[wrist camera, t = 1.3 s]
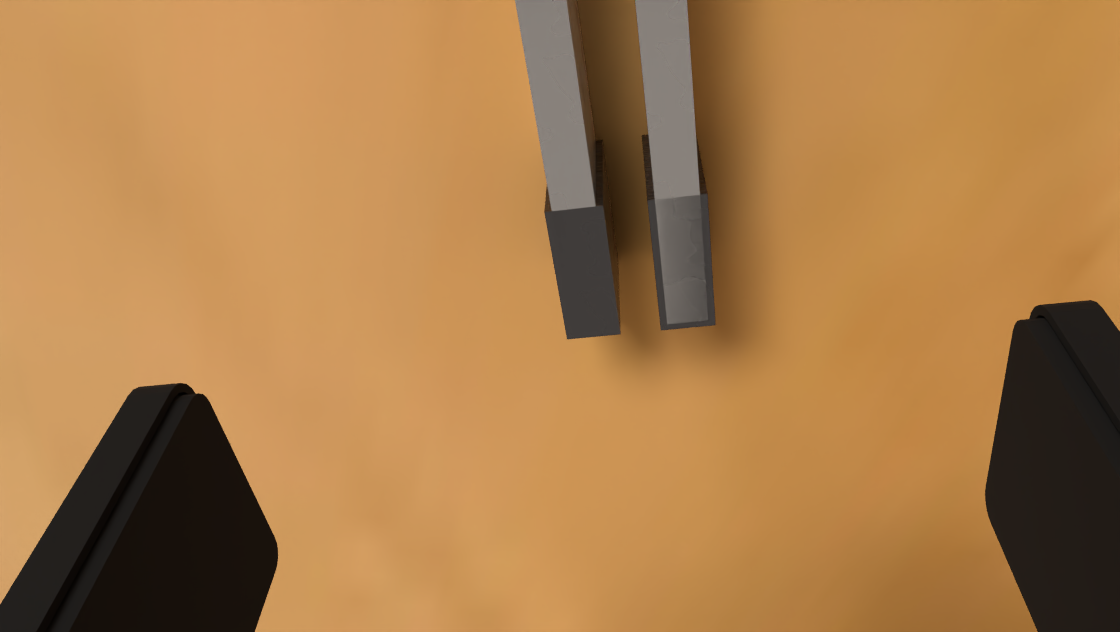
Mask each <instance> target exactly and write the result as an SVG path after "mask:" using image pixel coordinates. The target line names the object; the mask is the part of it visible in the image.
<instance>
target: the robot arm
mask: <svg viewBox="0 0 1120 632" xmlns="http://www.w3.org/2000/svg"><path fill="white" fill-rule="evenodd" d="M985 500H986V507H987V512H988V516H989V519H990V522H991V524H992V527H993V529H994V531H995V534H996V536H997V538H998V541H999V543H1000V545H1001V547H1002V550H1003V552H1004V554H1005V557H1006V559H1007V561H1008V564H1009V566H1010V568H1011V571H1012V573H1013V575H1014V578H1015V580H1016V582H1017V584H1018V587H1019V589H1020V591H1021V594H1022V596H1023V598H1024V601H1025V603H1026V605H1027V608H1028V610H1029V612H1030V615H1031V617H1032V619H1033V622H1034V624H1035V626H1036V628H1037V631H1038V632H1120V331H1119V330H1118V329H1117V327H1116V326H1115V325H1114V323H1113V322H1112V320H1111V319H1110V318H1109V316H1108V315H1107V314H1106V312H1105V311H1104V309H1103V308H1102V307H1101V306H1100V305H1099V304H1098V303H1097V302H1095V301H1092V300H1089V301H1078V302H1067V303H1056V304H1045V305H1038V306H1036V307H1034V309H1033V310H1032V312H1031V315H1030V318H1029V319H1026V320H1019V321H1017V322H1016V324H1015V326H1014V329H1013V333H1012V339H1011V345H1010V351H1009V356H1008V362H1007V368H1006V374H1005V379H1004V385H1003V391H1002V397H1001V402H1000V408H999V414H998V420H997V425H996V431H995V437H994V442H993V448H992V454H991V460H990V465H989V471H988V477H987V483H986V490H985ZM277 561H278V548H277V542H276V540H275V537H274V535H273V533H272V531H271V529H270V526H269V524H268V522H267V520H266V518H265V516H264V514H263V512H262V510H261V508H260V506H259V504H258V502H257V499H256V497H255V495H254V493H253V491H252V489H251V487H250V485H249V483H248V481H247V479H246V477H245V475H244V472H243V470H242V468H241V466H240V464H239V462H238V460H237V458H236V456H235V454H234V452H233V450H232V448H231V445H230V443H229V441H228V439H227V437H226V435H225V433H224V431H223V429H222V427H221V425H220V423H219V421H218V418H217V416H216V414H215V412H214V410H213V408H212V406H211V404H210V402H209V400H208V399H207V397H206V396H204V395H203V394H195V392H194V391H193V389H192V388H191V387H190V386H188V385H187V384H183V383H177V384H166V385H155V386H144V387H138V388H136V389H134V390H133V391H132V392H131V393H130V394H129V395H128V397H127V398H126V400H125V402H124V403H123V405H122V407H121V408H120V410H119V411H118V413H117V415H116V416H115V418H114V420H113V421H112V423H111V425H110V426H109V428H108V429H107V431H106V433H105V434H104V436H103V438H102V439H101V441H100V443H99V444H98V446H97V447H96V449H95V451H94V452H93V454H92V456H91V457H90V459H89V460H88V462H87V464H86V465H85V467H84V469H83V470H82V472H81V474H80V475H79V477H78V478H77V480H76V482H75V483H74V485H73V487H72V488H71V490H70V492H69V493H68V495H67V496H66V498H65V500H64V501H63V503H62V505H61V506H60V508H59V510H58V511H57V513H56V514H55V516H54V518H53V519H52V521H51V523H50V524H49V526H48V527H47V529H46V531H45V532H44V534H43V536H42V537H41V539H40V541H39V542H38V544H37V545H36V547H35V549H34V550H33V552H32V554H31V555H30V557H29V559H28V560H27V562H26V563H25V565H24V567H23V568H22V570H21V572H20V573H19V575H18V576H17V578H16V580H15V581H14V583H13V585H12V586H11V588H10V590H9V591H8V593H7V594H6V596H5V598H4V599H3V601H2V603H1V604H0V632H255V629H256V626H257V623H258V620H259V617H260V615H261V612H262V609H263V606H264V603H265V600H266V597H267V594H268V591H269V588H270V585H271V583H272V580H273V577H274V574H275V571H276V567H277Z"/></svg>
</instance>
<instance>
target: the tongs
mask: <svg viewBox="0 0 1120 632" xmlns="http://www.w3.org/2000/svg"><path fill="white" fill-rule="evenodd" d="M515 2H516V8H517V14H518V20H519V25H520V31H521V37H522V43H523V48H524V54H525V60H526V66H527V71H528V77H529V83H530V89H531V94H532V100H533V106H534V112H535V118H536V123H537V129H538V135H539V141H540V146H541V152H542V158H543V164H544V169H545V175H546V181H547V190H546V201H545V218H546V223H547V229H548V235H549V240H550V246H551V251H552V257H553V263H554V268H555V274H556V279H557V285H558V290H559V296H560V302H561V307H562V313H563V318H564V324H565V330H566V335H567V339H575V338H586V337H596V336H607V335H617V334H621V333H620V301H619V270H618V255H617V248H616V240H615V232H614V225H613V217H612V209H611V202H610V194H609V187H608V179H607V171H606V164H605V156H604V148H603V141H602V140H599V141H596V138H595V130H594V123H593V116H592V108H591V101H590V93H589V86H588V79H587V71H586V64H585V56H584V49H583V42H582V34H581V27H580V19H579V12H578V5H577V0H515ZM635 4H636V14H637V24H638V34H639V44H640V54H641V64H642V74H643V84H644V95H645V105H646V115H647V125H648V135H642V143H643V155H644V166H645V178H646V189H647V201H648V211H649V220H650V230H651V239H652V249H653V259H654V268H655V278H656V287H657V297H658V306H659V316H660V326H661V330H669V329H680V328H690V327H700V326H711V325H715V309H714V292H713V276H712V260H711V243H710V227H709V211H708V195H707V189H706V184H705V178H704V173H703V168H702V163H701V158H700V152H699V147H698V142H697V137H696V129H695V114H694V99H693V84H692V69H691V54H690V39H689V24H688V9H687V0H635Z"/></svg>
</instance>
